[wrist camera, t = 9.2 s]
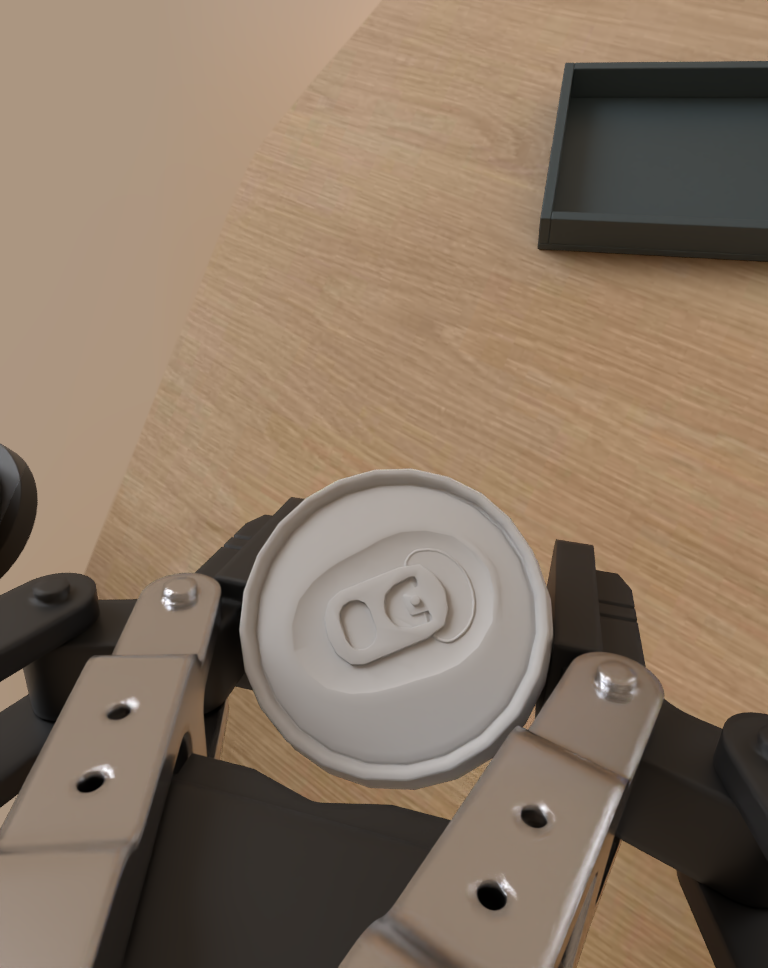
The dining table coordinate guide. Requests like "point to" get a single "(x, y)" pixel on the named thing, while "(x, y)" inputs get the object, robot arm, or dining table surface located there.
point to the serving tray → (660, 160)
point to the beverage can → (396, 629)
